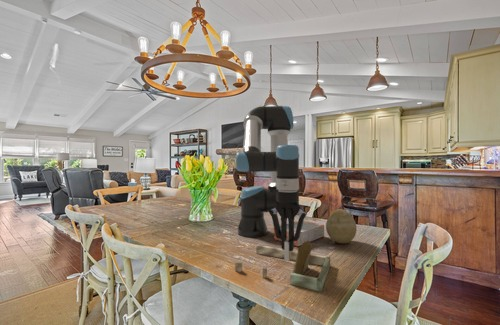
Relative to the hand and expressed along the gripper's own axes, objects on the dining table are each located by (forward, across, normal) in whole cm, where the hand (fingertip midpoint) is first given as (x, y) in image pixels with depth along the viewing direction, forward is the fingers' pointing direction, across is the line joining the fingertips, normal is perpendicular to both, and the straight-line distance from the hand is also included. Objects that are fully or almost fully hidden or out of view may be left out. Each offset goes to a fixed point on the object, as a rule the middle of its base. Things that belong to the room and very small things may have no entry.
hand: (287, 259), depth 81 cm
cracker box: (+1, 0, +42) cm, 42 cm away
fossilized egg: (+4, +14, +34) cm, 37 cm away
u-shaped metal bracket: (+3, -1, 0) cm, 3 cm away
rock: (+4, +4, 0) cm, 5 cm away
